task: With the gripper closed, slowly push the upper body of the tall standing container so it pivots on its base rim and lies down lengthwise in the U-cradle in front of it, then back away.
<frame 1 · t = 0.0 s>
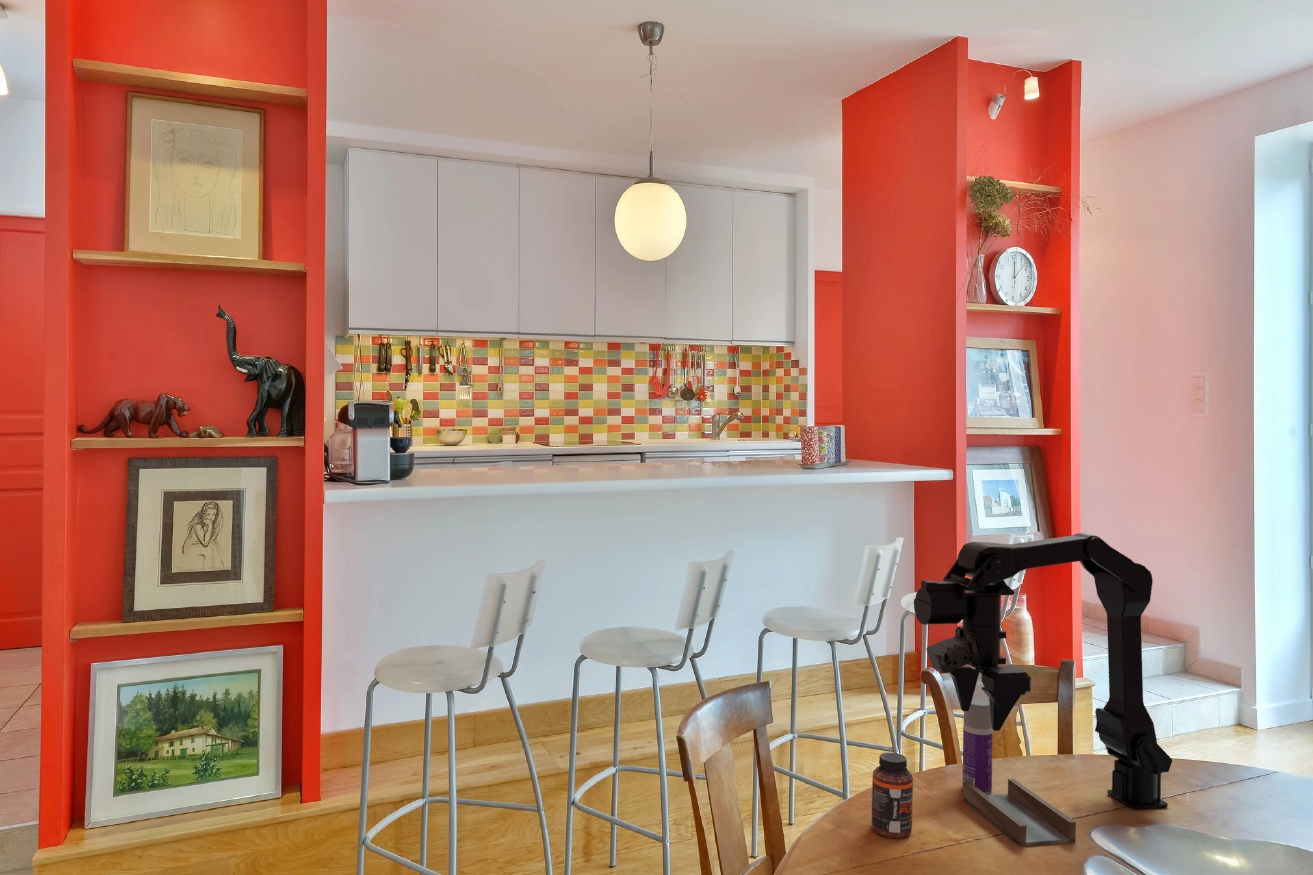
hand: (980, 720, 138), 15 cm above the table, fingers open, 9 cm apart
cradle: (1016, 819, 136), on the table
container: (977, 790, 147), on the table
supplement bottle: (891, 832, 131), on the table
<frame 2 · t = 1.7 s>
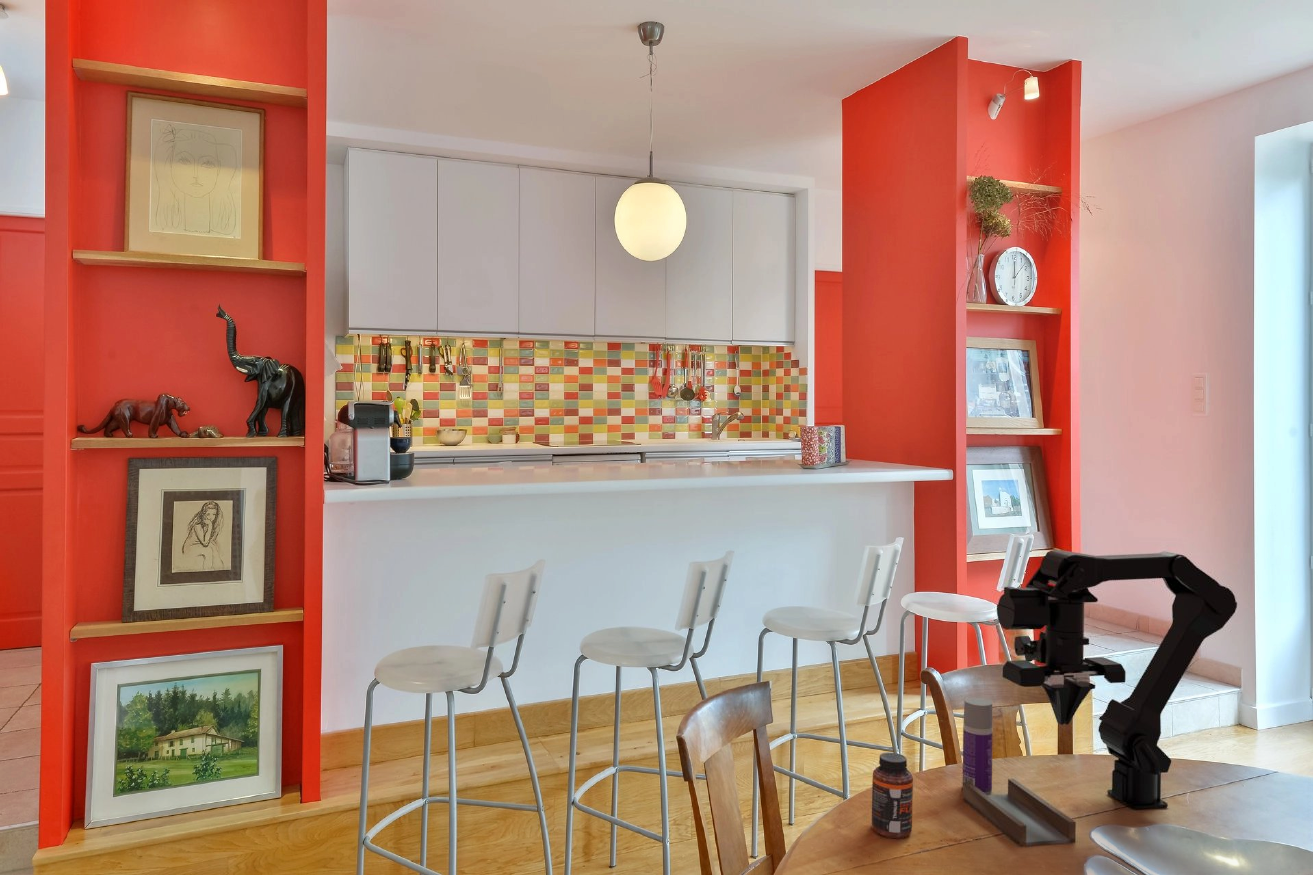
hand: (1062, 723, 142), 13 cm above the table, fingers closed
nothing on the table moved.
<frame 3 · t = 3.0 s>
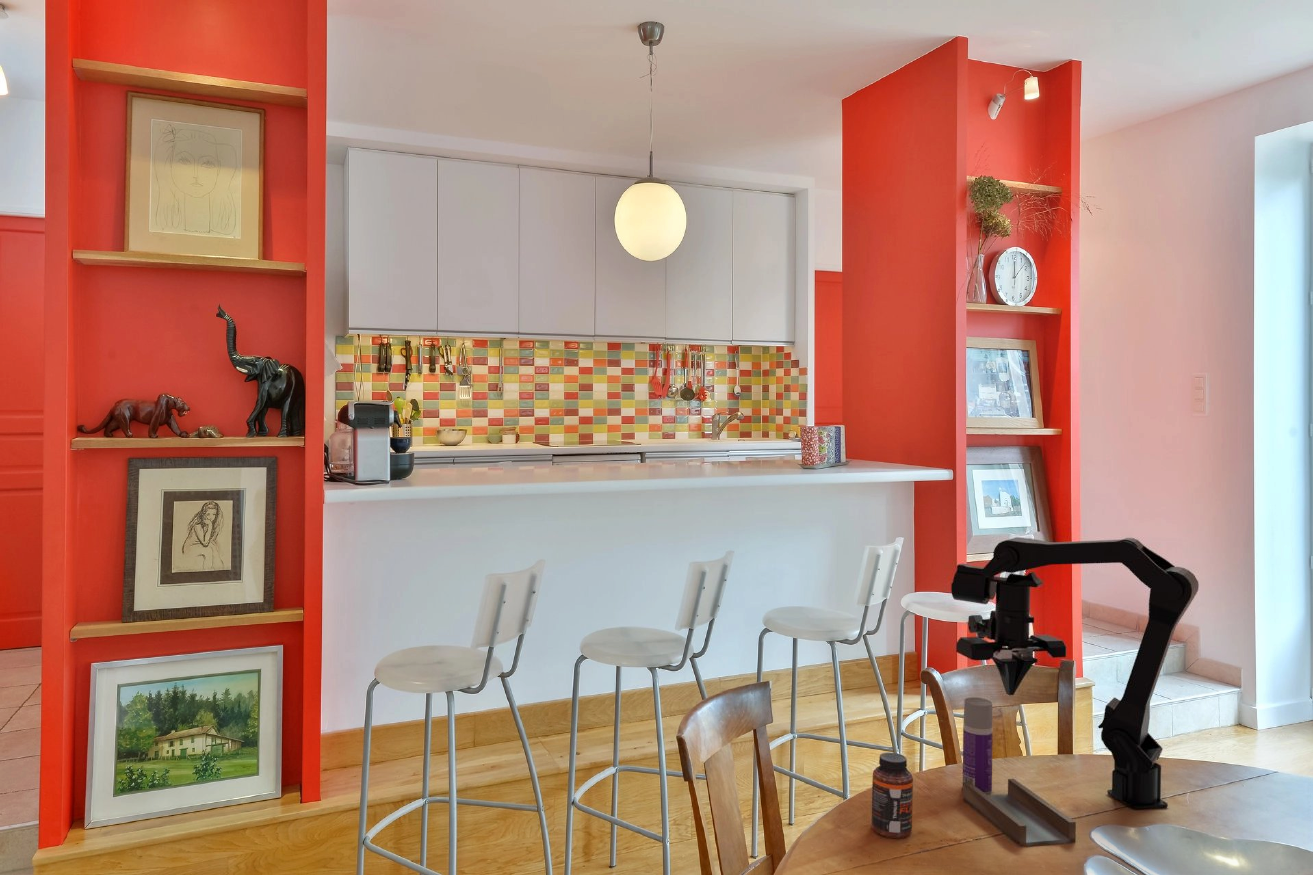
hand: (1009, 694, 156), 13 cm above the table, fingers closed
nothing on the table moved.
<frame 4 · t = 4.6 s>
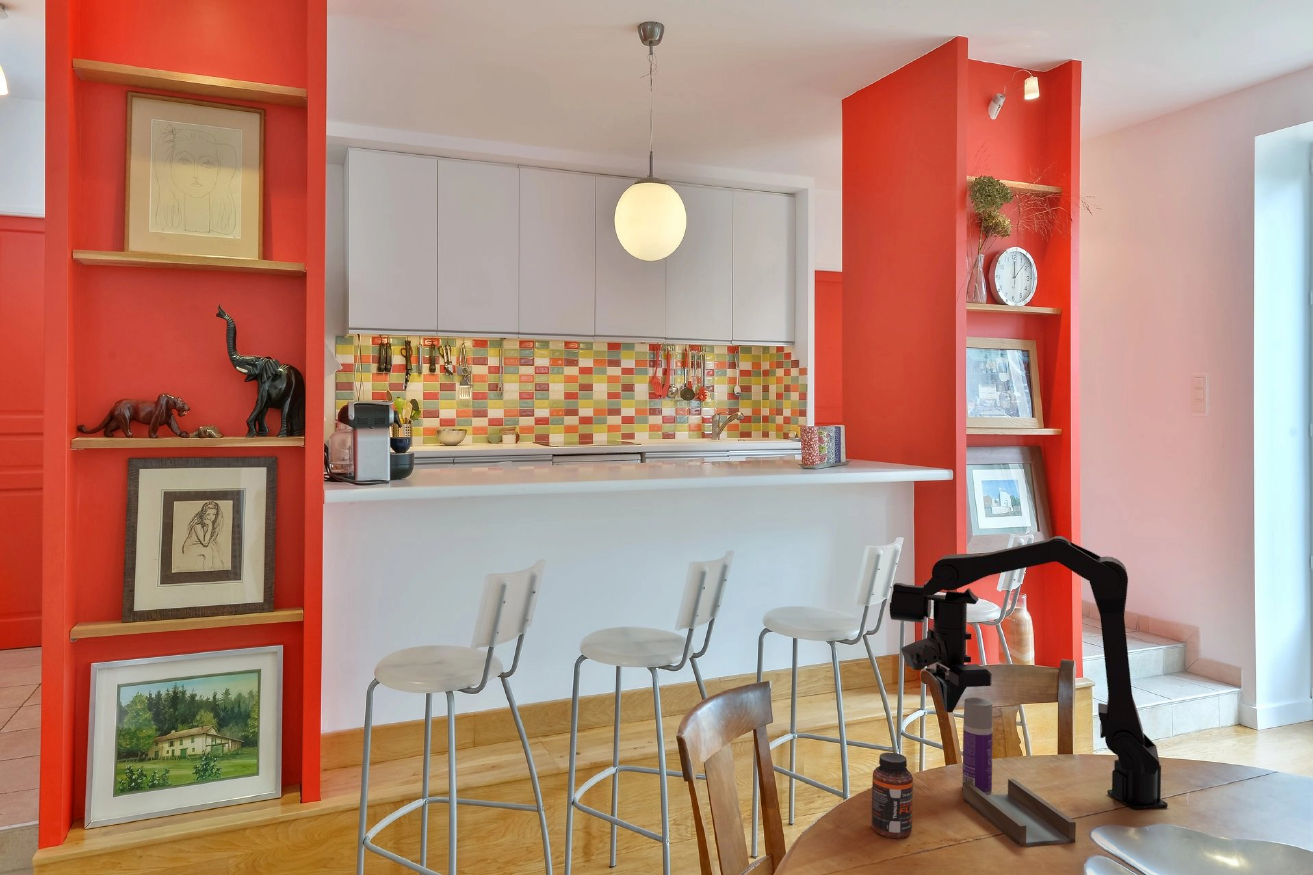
hand: (948, 711, 156), 10 cm above the table, fingers closed
nothing on the table moved.
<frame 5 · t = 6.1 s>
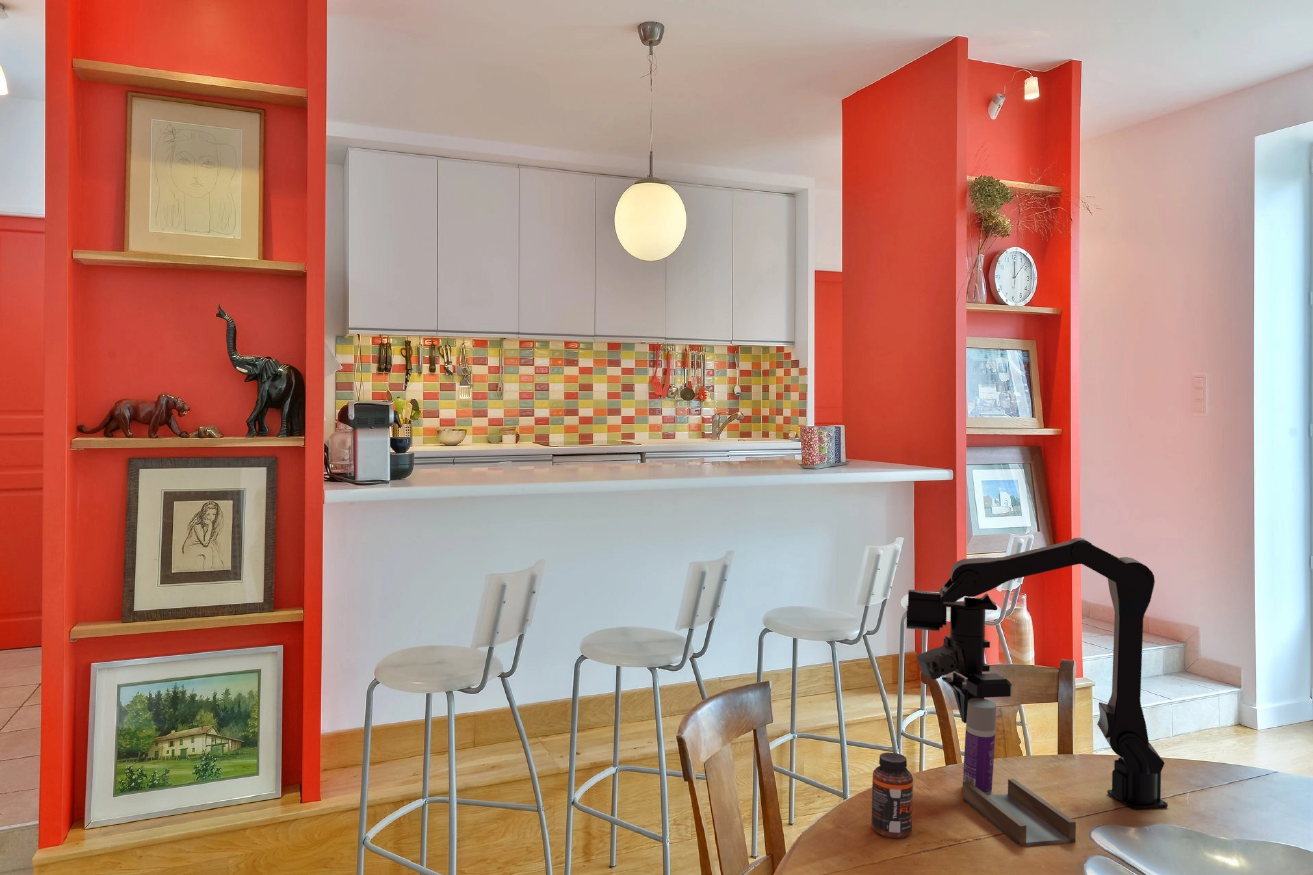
hand: (965, 722, 151), 10 cm above the table, fingers closed
container: (977, 789, 147), on the table, touching gripper
everything else where it was.
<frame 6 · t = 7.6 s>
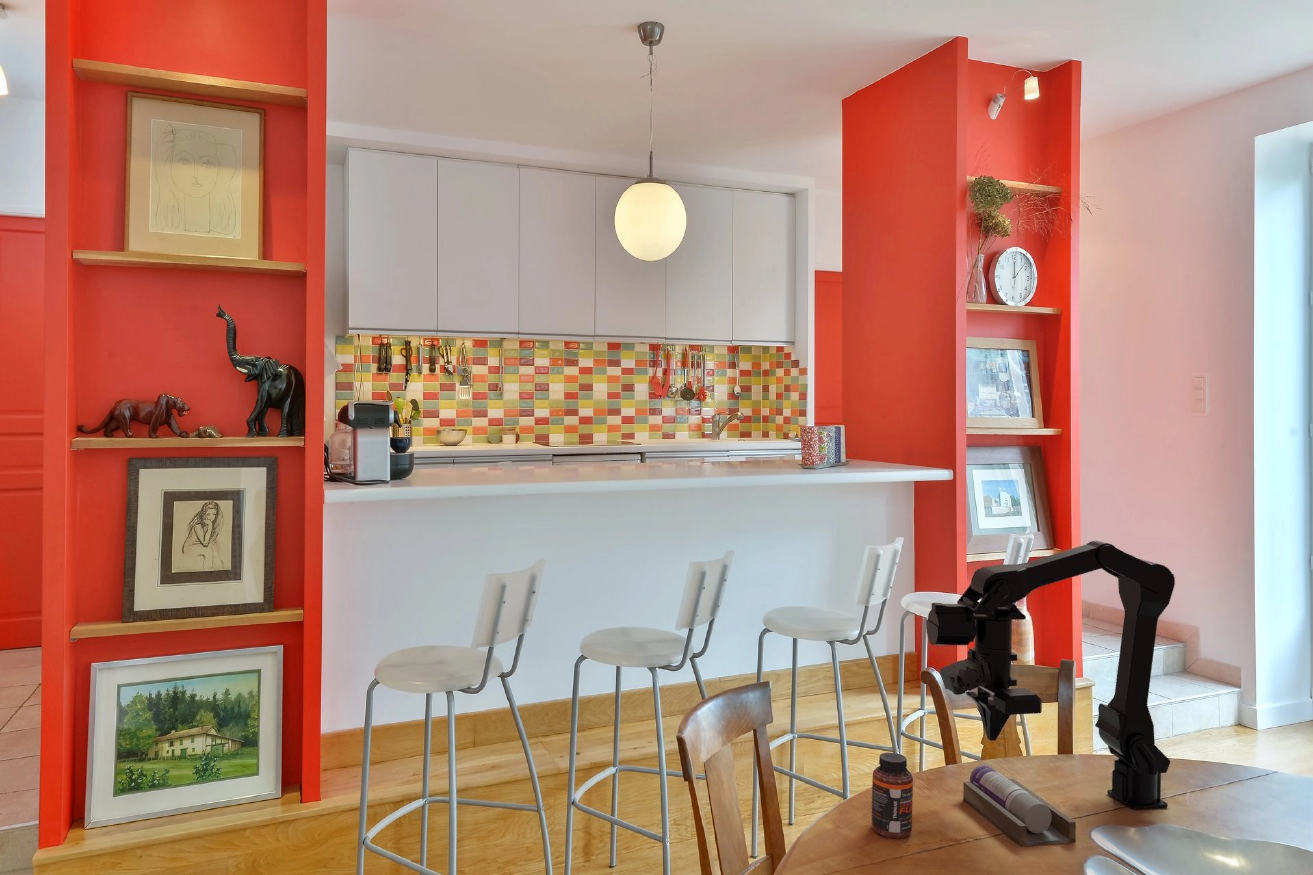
hand: (991, 739, 143), 10 cm above the table, fingers closed
container: (981, 778, 145), point 3 cm above the table, touching cradle
everything else where it was.
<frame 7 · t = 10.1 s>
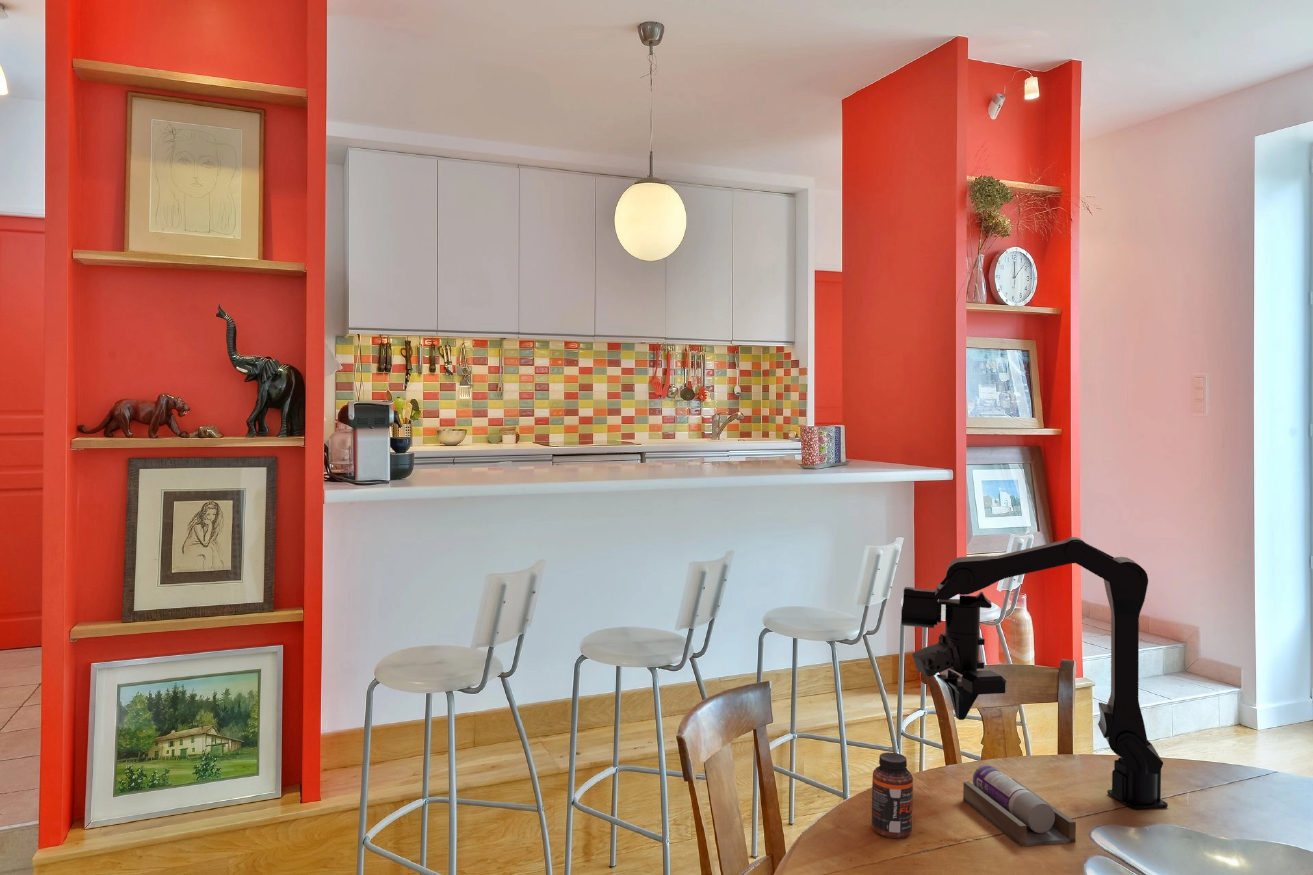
hand: (960, 719, 152), 10 cm above the table, fingers closed
nothing on the table moved.
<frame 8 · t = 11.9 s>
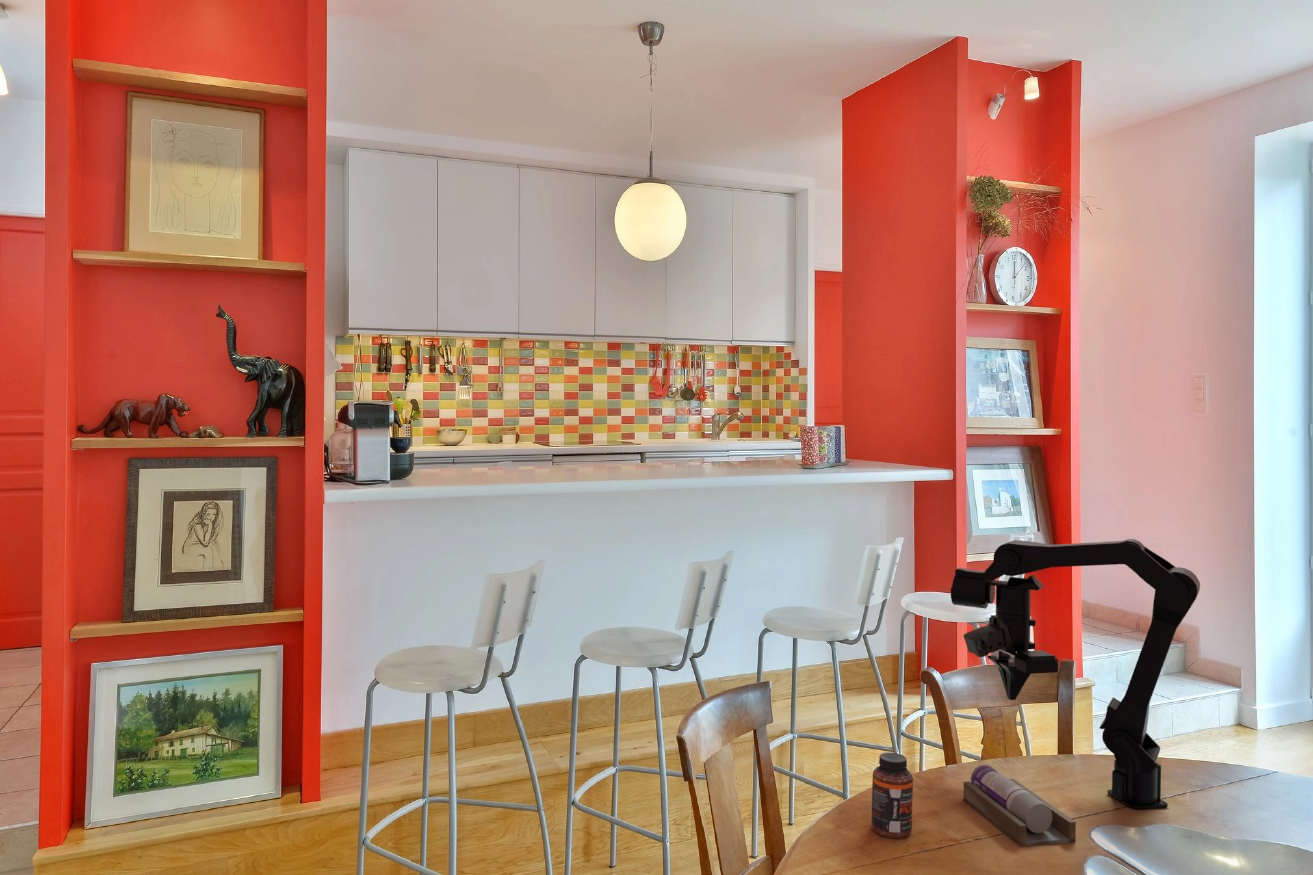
hand: (1011, 699, 154), 13 cm above the table, fingers closed
nothing on the table moved.
at the end: container tilted 90°; container inside the target area (3.4 cm from its centre), point 2.8 cm above the table; container touching cradle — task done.
